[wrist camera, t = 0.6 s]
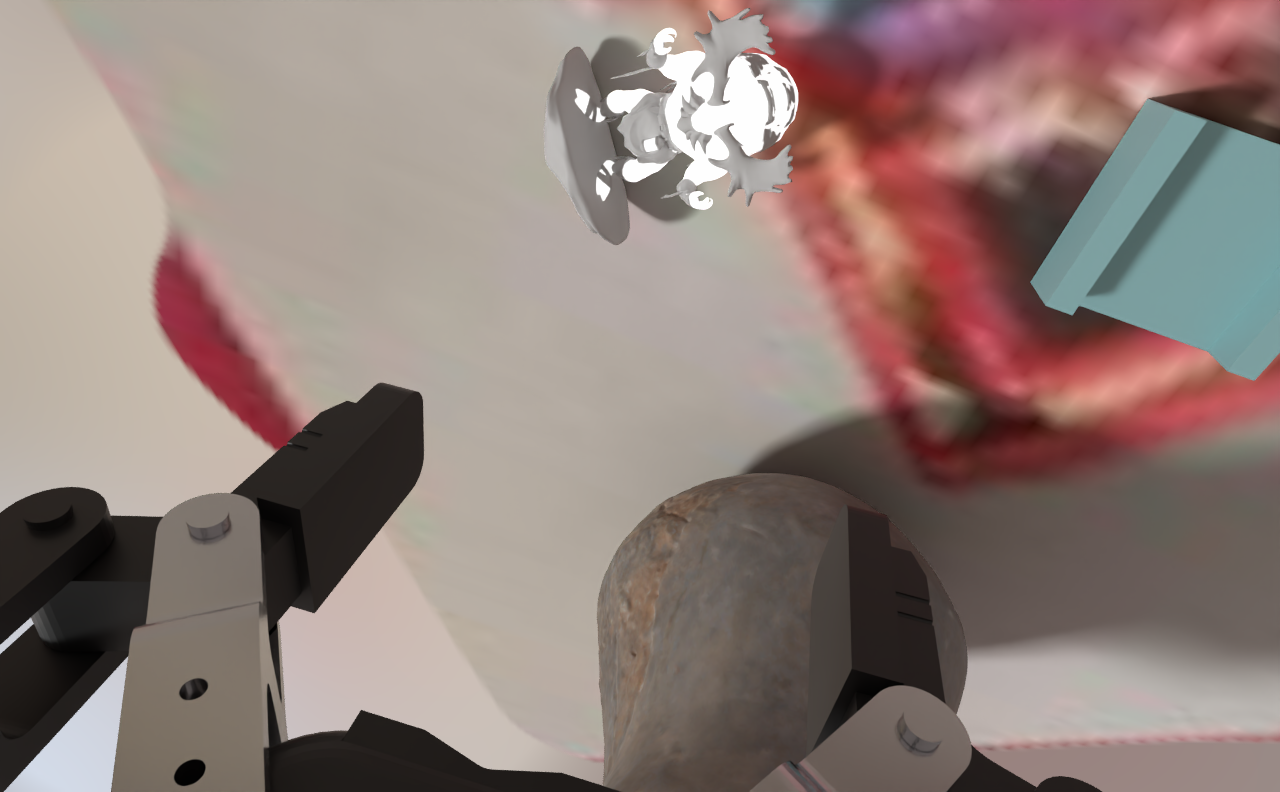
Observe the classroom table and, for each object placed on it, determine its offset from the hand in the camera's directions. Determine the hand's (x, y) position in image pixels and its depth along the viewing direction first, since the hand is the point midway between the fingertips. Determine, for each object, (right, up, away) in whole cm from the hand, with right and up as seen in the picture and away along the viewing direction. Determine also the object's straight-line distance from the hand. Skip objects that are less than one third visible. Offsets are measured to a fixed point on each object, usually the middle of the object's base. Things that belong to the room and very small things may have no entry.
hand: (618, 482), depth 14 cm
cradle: (+26, +9, +20) cm, 34 cm away
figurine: (+2, +15, +23) cm, 28 cm away
